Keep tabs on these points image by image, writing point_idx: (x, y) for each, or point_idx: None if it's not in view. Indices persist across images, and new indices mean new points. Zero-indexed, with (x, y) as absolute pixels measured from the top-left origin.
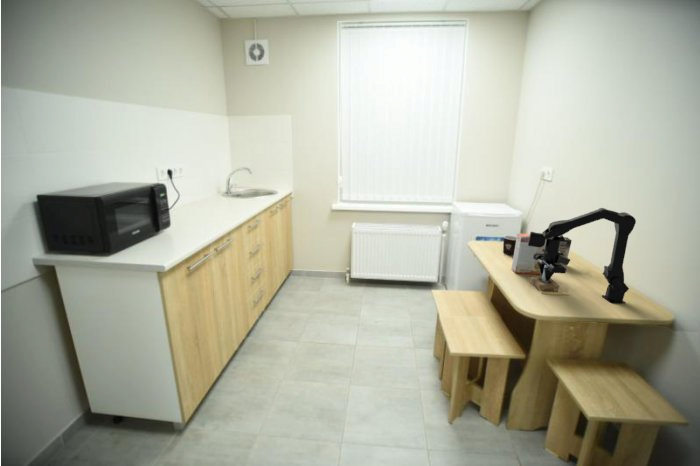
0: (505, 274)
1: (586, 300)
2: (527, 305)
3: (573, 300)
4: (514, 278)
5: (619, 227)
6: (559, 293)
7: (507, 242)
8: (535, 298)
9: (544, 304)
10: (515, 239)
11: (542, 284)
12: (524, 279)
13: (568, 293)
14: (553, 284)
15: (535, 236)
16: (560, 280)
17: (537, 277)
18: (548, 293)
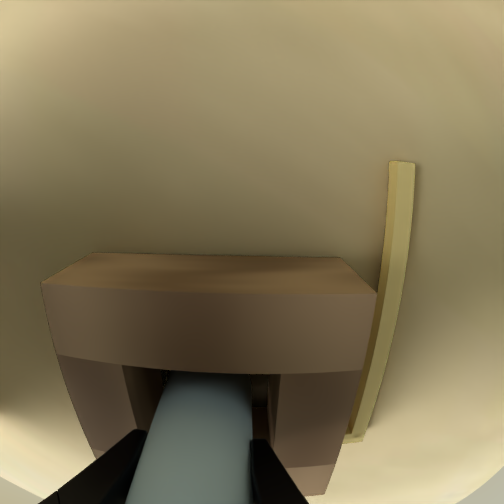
0: (38, 471)
1: (487, 68)
2: (453, 492)
3: (500, 200)
4: (77, 468)
5: None
6: (401, 281)
7: None
8: (413, 469)
9: (480, 436)
10: None
11: (324, 479)
12: (62, 422)
13: (413, 168)
14: (334, 375)
15: None
16: (8, 62)
17: (102, 444)
18: (374, 386)
